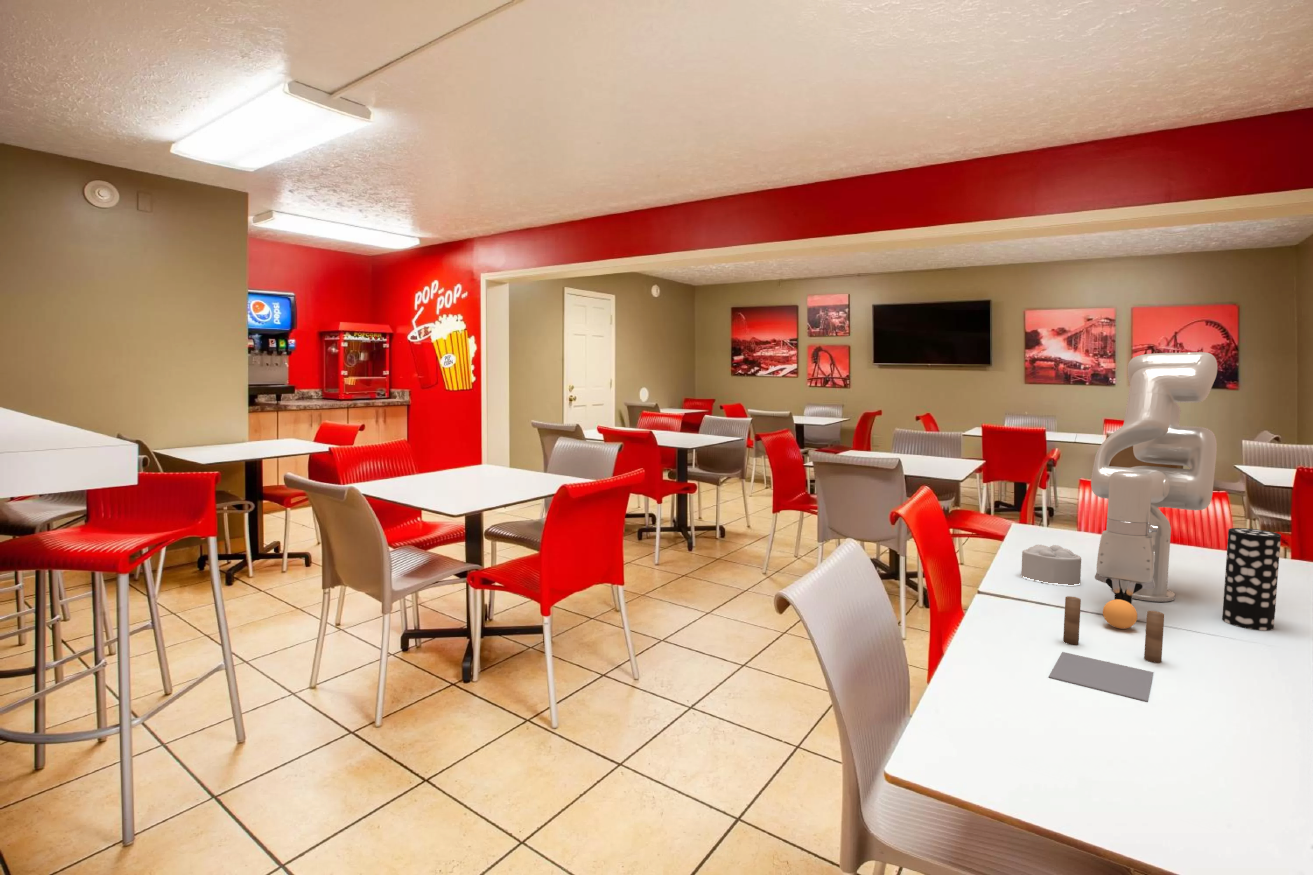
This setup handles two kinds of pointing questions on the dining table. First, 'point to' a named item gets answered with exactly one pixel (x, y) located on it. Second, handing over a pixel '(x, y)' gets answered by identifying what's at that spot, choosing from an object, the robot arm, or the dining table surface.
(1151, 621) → the post
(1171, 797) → the dining table surface
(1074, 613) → the post
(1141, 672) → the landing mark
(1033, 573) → the lumpy-topped squat cylinder
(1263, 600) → the white-spotted black cylinder
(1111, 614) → the ball
